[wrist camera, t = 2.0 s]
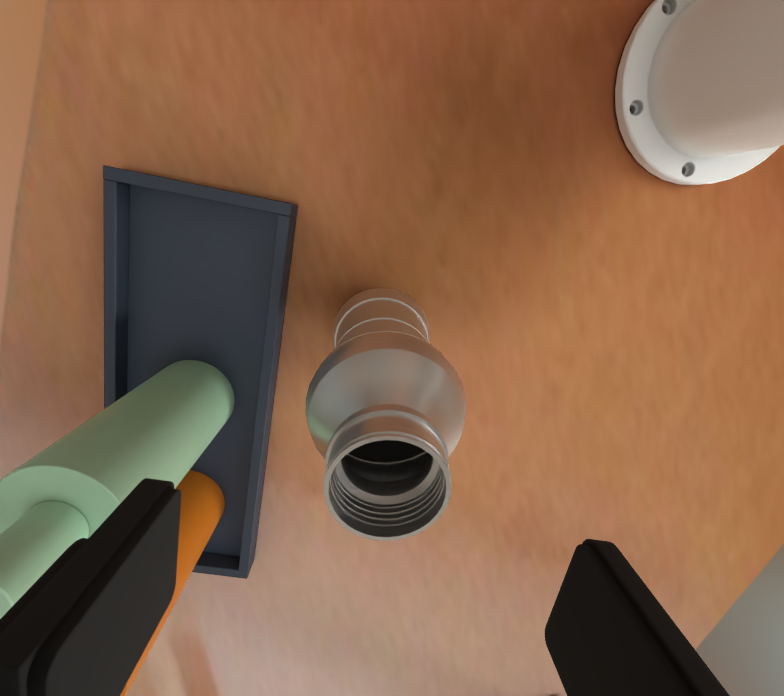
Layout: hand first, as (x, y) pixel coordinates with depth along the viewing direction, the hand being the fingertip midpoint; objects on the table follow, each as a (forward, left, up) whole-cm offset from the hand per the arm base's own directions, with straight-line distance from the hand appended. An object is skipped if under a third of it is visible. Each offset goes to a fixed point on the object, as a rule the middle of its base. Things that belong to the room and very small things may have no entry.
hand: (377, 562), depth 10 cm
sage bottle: (+8, -13, -22) cm, 26 cm away
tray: (+8, -13, -22) cm, 27 cm away
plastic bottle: (0, 0, -23) cm, 23 cm away
